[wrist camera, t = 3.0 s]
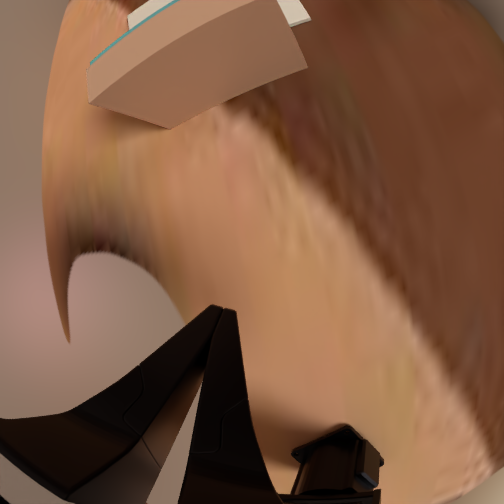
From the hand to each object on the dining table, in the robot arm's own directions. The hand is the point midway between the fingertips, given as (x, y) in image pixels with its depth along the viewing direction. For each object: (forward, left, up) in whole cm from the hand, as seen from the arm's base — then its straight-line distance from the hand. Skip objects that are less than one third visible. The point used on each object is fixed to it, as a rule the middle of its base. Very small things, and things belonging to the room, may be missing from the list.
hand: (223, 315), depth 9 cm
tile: (+5, +13, -12) cm, 19 cm away
